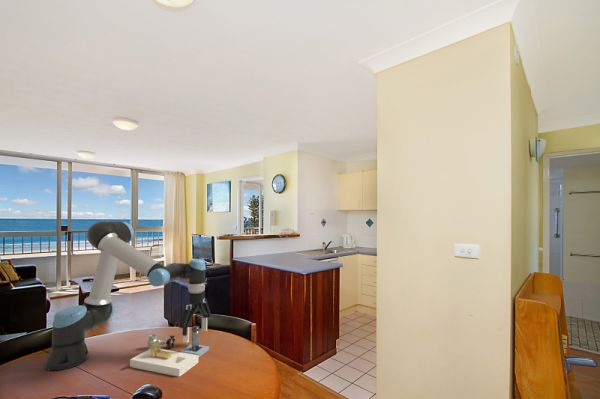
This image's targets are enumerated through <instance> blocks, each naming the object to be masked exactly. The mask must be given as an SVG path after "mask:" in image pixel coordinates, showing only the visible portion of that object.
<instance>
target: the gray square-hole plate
mask: <svg viewBox="0 0 600 399" xmlns="http://www.w3.org/2000/svg"><path fill="white" fill-rule="evenodd" d="M209 350H210V346H209V345H203V344H199V350H198V351H197V352H194V351H192V343H191V344H189V345H188V346H187V347H185V348H182V349H181V350H180V352H181V353H187V354H193V355H199V358H200V357H201V356H202V355H204V354H205V353H207V352H208V351H209Z"/></svg>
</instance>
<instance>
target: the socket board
mask: <svg viewBox="0 0 600 399" xmlns="http://www.w3.org/2000/svg"><path fill="white" fill-rule="evenodd" d="M150 350H151V349H149V348H148V349H146V350H145V351H143V352H141V353H139V354H137V355H135V356H134V357H132V358H130V359H129V367H130V368H134V369H139V370H144V371H148V372H149V371H150V372H153V373H158V374H164V375H168V376H173V377H179V378H180V377H181V376H182V375H184V374H185V373H187V372H188V371H190V369H192V368H193V367H194V366H196V365H197V364H198V363H199V358H200V357H199V355H193V354H187V353H181V351H174V350H170V349H164V348H160V350H162V351H168V352H172V353H171V357H170V358H168V359H166V358H161V357H151V356H150Z"/></svg>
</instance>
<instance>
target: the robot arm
mask: <svg viewBox="0 0 600 399" xmlns="http://www.w3.org/2000/svg"><path fill="white" fill-rule="evenodd" d="M134 234H135V231H134V228H133V227H132V225H131V224H130V223H128V222H126V221H119V220H116V221H114V220H113V221H112V220H111V221H106V220H105V221H98V222H95V223H94V224H92V225H91V226H89V228H88V230H87V231H86V238H87V241H88V243H89V244H90V245H91V246H93V248H95V249H97V250H98V251H100V254H99V258H98V262H97V265H96V268H95V273H94V277H93V280H92V285H91V289H90V292H89V295H88V296H87V297H86V298H84V301H83V304H82V305H72V306H69V307H65V308H63V309H60V310H59V311H57V312H56V313H55V315H54V316H53V322H52V324H51V325H52V335H51V348H50V351H49V353H48V356H47V357H46V360H45V363H44V369H45V368H46V369H49V370H58V371H63V369H64V370H67V369H72V368H74V367H77V366H79V365H81V364H83V363H85V362H86V361H87V360H88V358H89V353H90V352H89V349H88V347H87V344H86V341H85V338H86V333H87V332H88V331H90V330H92V329H95V328H98V327H100V326H102V325H104V324H106V323H107V322H109V321H110V320H111V319H112V317H113V316H114V313H115V306H114V302H113V299H112V298H111V296H110V295H111V293H112V292H111V291H112V288H113V285H114V280H115V276H116V273H117V268H118V265H119V262H120V261H121V262H122V263H123V264H125V265H127V266H128V267H130V268H132V269H134V270H135V271H137V272H139V273H140V274H142V275H143V276H145V277H147V281H148V282H149V284H150V285H151V286H153V287H154V288H155V287H156V288H157V287H161V286H165V285H167V284H169V283H172V282H174V281H176V280H188V297H187V299H188V301H189V304H185V305H184V308H183V309H184V310H183V314H182V316H181V320H180V323H179V326H178V327H179V329H182V342H183V343H189V342H190V327H189V326H190V324H191V321H192V319H193V317H194V315H196V313H198V312H199V313H200V314H201V316H202V317H201V332H204V333H205V332H208V319H209V318H210V315H211V310H210V307H209V303H208V298H206V297H205V294H206V292H205V290H206V289H205V288H206V260H205V259H203V258H194V259H190V260H189V261H188V263H177V262H172V263H171V262H170V263H167V264H166V265H163V264H162V263H160V262H158V261H156V260H155V259H153V258H152V257H150V256H149V255H147V254H146V253H144V252H142V251H141V250H139V249H138V248H136V247H134V246H132V245H130V244H129V243H130V242H131V241H132V240H133V238H134ZM46 369H45V370H46ZM49 370H48V371H49Z"/></svg>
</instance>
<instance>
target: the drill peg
mask: <svg viewBox="0 0 600 399" xmlns="http://www.w3.org/2000/svg"><path fill="white" fill-rule="evenodd" d="M191 344H192V351H194V352H197V351H198V350H199V345H200V326H199V325H194V326H192V327H191Z"/></svg>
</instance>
